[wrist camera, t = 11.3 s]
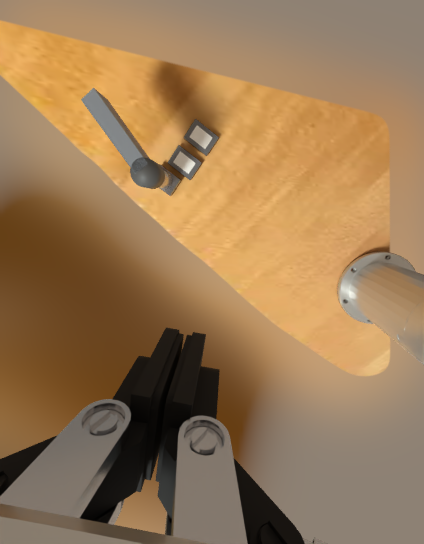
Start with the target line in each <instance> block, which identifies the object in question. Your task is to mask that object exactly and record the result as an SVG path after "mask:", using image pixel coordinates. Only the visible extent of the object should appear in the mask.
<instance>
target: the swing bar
mask: <svg viewBox="0 0 424 544" xmlns="http://www.w3.org/2000/svg"><path fill="white" fill-rule="evenodd" d="M81 100H82V102H83V103H84V104H85V106H86V107H87V109H88V110H89V111H90V113H91V114H92V115H93V117H94V118H95V119H96V121H97V122H98V124H99V125H100V126H101V128H102V129H103V130H104V132H105V133H106V135H107V136H108V137H109V139H110V140H111V141H112V143H113V144H114V146H115V147H116V148H117V150H118V151H119V152H120V154H121V155H122V156H123V158H124V159H125V161H126V162H127V163H128V165H129V166H130V167H131V169H130V173H131V177H132V179H133V181H134V182H135V183H136V184H137V185H139V186H141V187H146V188H151V189H156V188H158V187H160V186H161V185H162V184H163V182H164V180H165V172H164V170H163V168H162V167H161V166H160V165H159V164H158V163H156V162H154V161H152V160H151V159H149V157H148V156H147V154H146V153H145V152H144V150H143V149H142V147H141V146H140V145H139V143H138V142H137V140H136V139H135V138H134V136H133V135H132V133H131V132H130V131H129V129H128V128H127V126H126V125H125V123H124V122H123V121H122V119H121V118H120V116H119V115H118V114H117V112H116V111H115V109H114V108H113V107H112V105H111V104H110V102H109V101H108V100H107V99H106V98H105V97H104V96H103V95H101V94H100V93H99V92H98V91H97V90H95V89H94V88H93V89H92V90H91V91H90V92H89V93H88V94H87V95H86V96H84V97H83V98H82V99H81Z"/></svg>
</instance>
